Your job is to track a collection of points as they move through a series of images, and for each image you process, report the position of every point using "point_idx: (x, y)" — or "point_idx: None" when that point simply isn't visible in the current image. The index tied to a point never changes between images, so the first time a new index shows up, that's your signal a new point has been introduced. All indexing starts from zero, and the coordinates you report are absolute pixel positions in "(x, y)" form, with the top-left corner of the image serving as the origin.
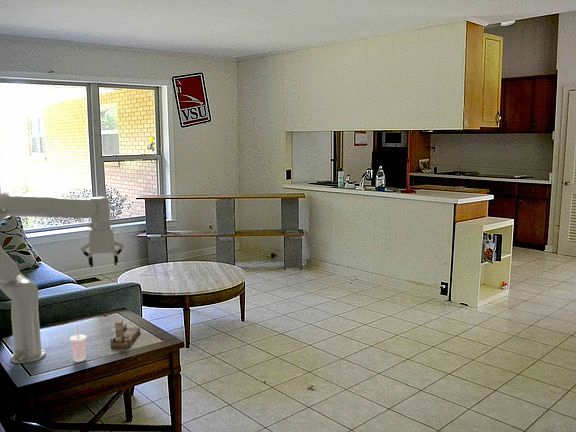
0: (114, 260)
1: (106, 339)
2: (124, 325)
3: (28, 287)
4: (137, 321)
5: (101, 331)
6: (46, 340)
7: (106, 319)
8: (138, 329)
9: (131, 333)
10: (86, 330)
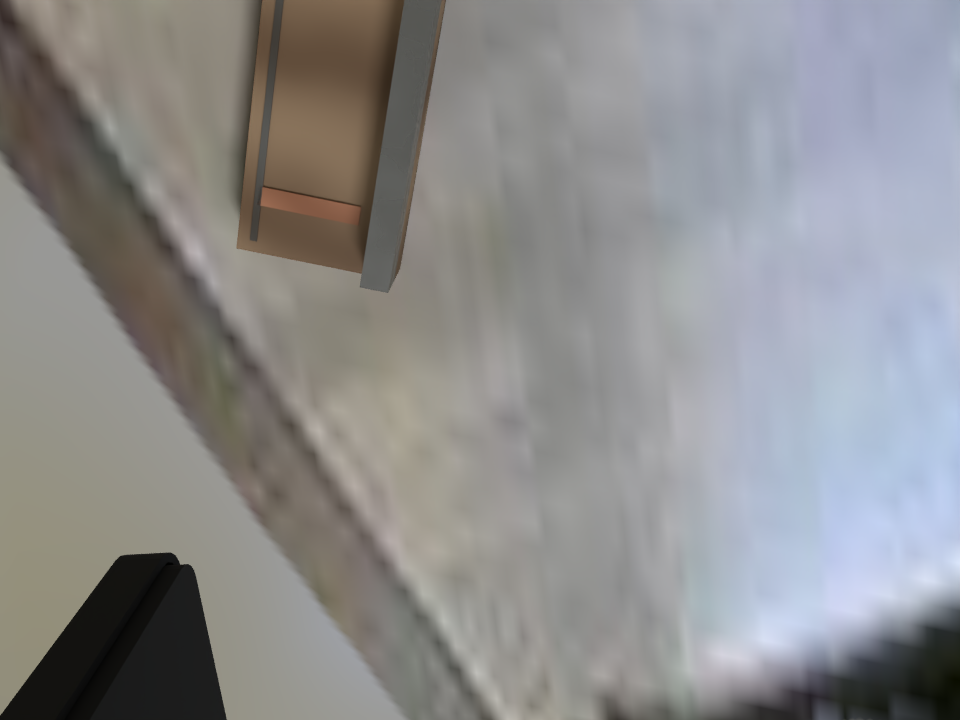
0: (104, 683)
1: (547, 103)
2: (371, 230)
3: None
4: (318, 520)
5: (617, 335)
6: None
7: (601, 624)
8: (241, 204)
9: (292, 94)
10: (758, 391)
